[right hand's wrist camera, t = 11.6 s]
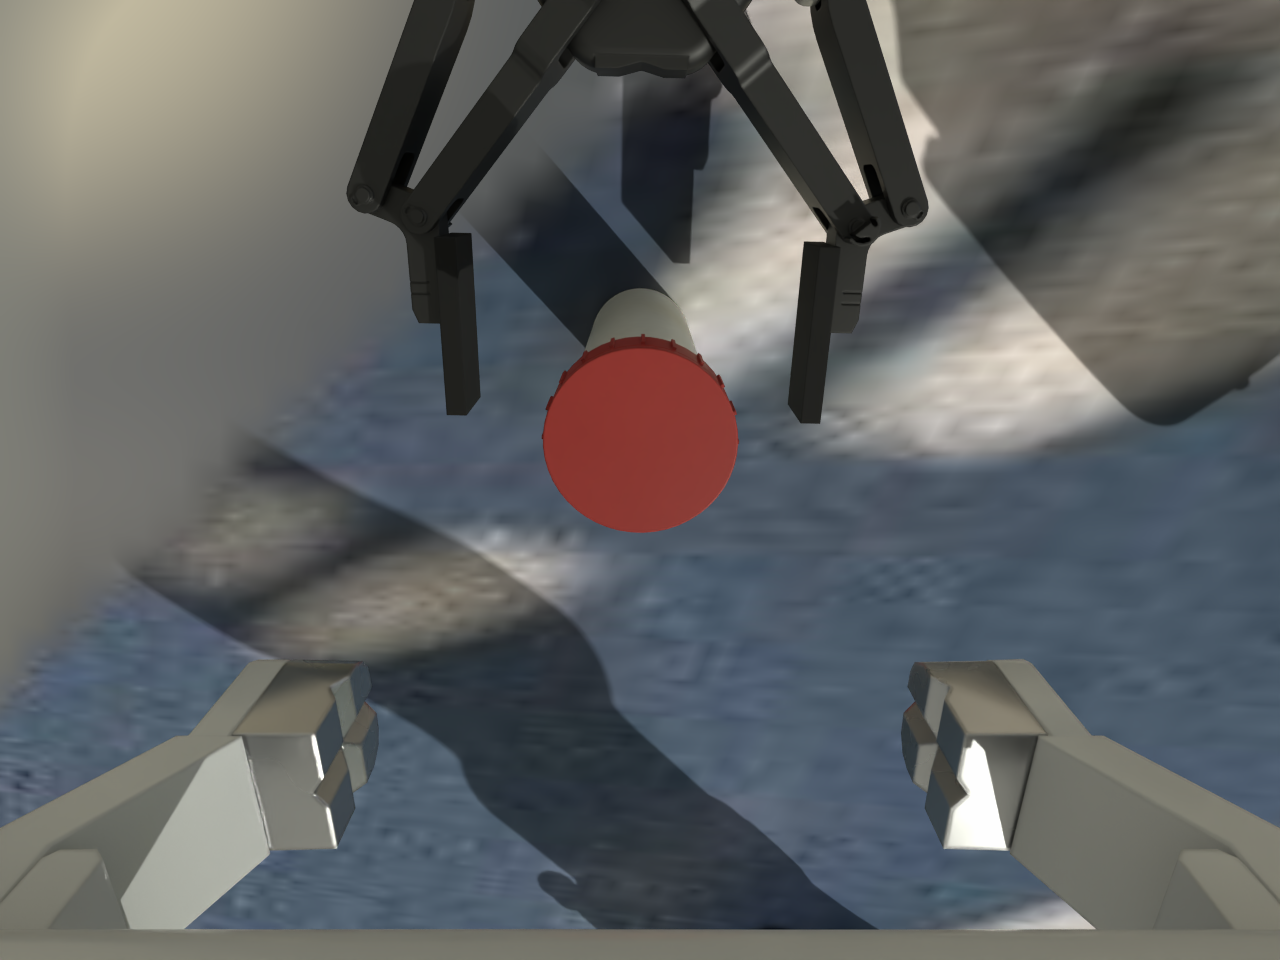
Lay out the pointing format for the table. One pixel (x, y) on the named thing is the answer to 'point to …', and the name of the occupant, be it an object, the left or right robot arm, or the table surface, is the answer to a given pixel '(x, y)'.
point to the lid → (640, 434)
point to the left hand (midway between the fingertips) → (634, 410)
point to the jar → (640, 319)
